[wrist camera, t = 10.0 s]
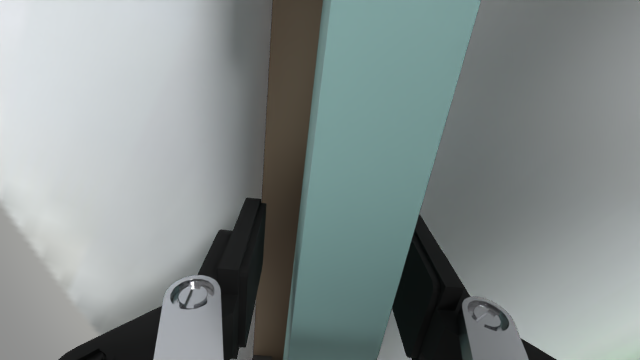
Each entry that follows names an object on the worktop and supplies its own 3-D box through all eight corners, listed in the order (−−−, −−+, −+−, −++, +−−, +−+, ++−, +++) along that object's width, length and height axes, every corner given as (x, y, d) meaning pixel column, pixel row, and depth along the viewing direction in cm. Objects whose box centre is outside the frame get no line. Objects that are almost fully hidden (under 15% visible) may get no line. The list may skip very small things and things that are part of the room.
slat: (340, -159, 9) (389, -484, 3) (424, -143, 9) (604, -425, 3) (279, 392, 19) (265, 541, 13) (320, 394, 19) (323, 542, 13)
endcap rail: (483, -191, 9) (597, -343, 5) (341, 397, 20) (348, 476, 16) (288, -230, 9) (273, -421, 5) (252, 392, 20) (239, 473, 16)
